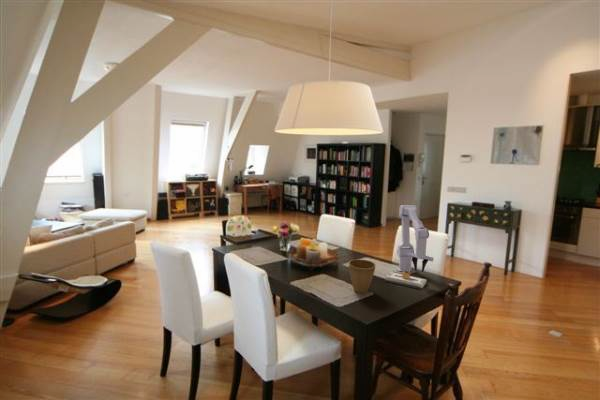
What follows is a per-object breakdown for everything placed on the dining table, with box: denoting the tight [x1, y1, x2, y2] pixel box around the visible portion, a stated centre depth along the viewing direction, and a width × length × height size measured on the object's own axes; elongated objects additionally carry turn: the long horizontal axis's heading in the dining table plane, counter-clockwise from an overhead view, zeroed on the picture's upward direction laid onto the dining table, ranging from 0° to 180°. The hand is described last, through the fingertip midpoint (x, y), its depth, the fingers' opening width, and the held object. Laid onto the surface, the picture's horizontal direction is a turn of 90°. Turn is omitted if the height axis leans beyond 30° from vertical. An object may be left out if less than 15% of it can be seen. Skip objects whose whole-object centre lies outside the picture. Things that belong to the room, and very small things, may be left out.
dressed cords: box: [384, 271, 428, 290], centre depth 202 cm, size 16×21×1 cm
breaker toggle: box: [402, 270, 411, 279], centre depth 201 cm, size 3×4×4 cm
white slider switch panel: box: [385, 271, 427, 289], centre depth 202 cm, size 9×22×2 cm, turn 56°
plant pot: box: [348, 259, 376, 294], centre depth 186 cm, size 15×15×16 cm
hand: (419, 270), depth 196 cm, fingers open, 3 cm apart
